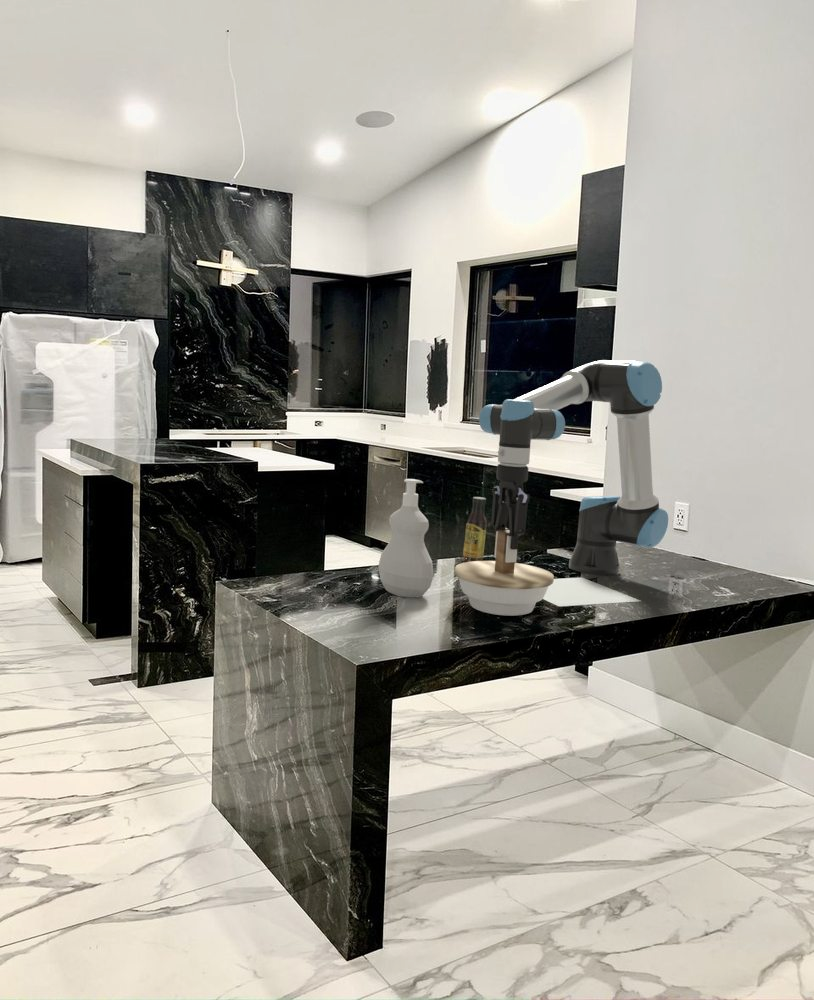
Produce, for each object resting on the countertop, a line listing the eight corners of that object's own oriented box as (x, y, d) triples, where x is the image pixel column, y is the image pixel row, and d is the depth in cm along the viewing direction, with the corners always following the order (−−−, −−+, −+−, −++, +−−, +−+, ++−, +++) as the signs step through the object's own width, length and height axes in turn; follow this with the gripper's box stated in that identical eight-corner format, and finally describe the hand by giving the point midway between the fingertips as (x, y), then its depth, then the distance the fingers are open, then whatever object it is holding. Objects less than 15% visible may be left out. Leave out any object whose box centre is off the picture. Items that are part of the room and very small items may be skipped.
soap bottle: (443, 598, 218) (451, 483, 213) (408, 604, 210) (417, 485, 206) (399, 583, 230) (406, 474, 226) (365, 588, 222) (372, 476, 218)
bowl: (484, 593, 227) (486, 562, 226) (562, 610, 214) (565, 577, 213) (437, 608, 209) (440, 575, 208) (520, 629, 196) (523, 593, 195)
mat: (581, 579, 250) (581, 577, 249) (641, 603, 226) (641, 600, 226) (504, 583, 239) (504, 581, 238) (558, 608, 215) (559, 606, 215)
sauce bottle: (458, 560, 265) (463, 496, 262) (471, 558, 269) (476, 495, 266) (475, 564, 260) (480, 499, 258) (487, 562, 265) (492, 498, 262)
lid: (518, 563, 226) (522, 521, 225) (573, 586, 205) (577, 540, 203) (437, 567, 216) (441, 523, 214) (486, 591, 195) (490, 542, 193)
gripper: (481, 460, 213) (474, 552, 216) (519, 468, 197) (510, 568, 200) (507, 460, 216) (499, 551, 219) (546, 469, 200) (537, 567, 204)
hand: (505, 559), depth 210 cm, fingers open, 4 cm apart
